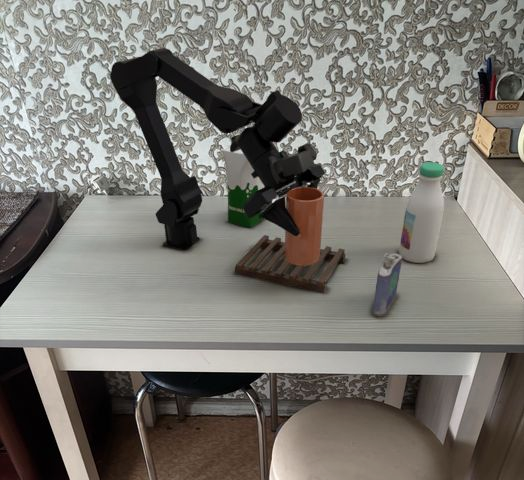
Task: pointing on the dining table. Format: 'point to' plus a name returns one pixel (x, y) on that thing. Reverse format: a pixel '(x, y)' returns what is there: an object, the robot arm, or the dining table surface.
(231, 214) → the milk carton
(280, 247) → the drying rack
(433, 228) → the milk bottle
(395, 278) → the flask
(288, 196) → the tumbler
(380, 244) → the dining table surface
